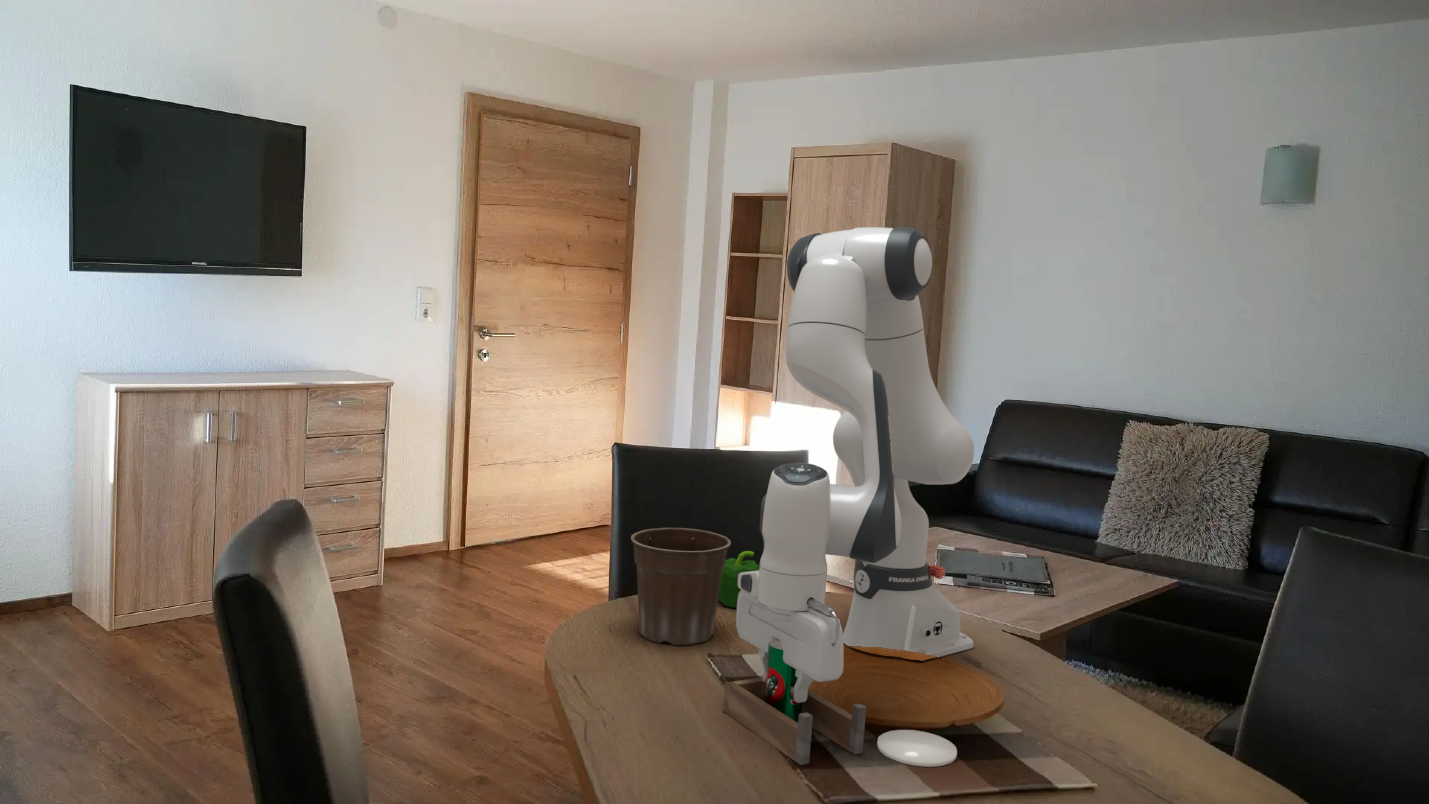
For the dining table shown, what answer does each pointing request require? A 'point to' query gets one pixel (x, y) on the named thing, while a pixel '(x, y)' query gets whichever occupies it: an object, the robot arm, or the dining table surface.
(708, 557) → the plant pot
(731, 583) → the bell pepper
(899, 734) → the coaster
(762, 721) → the dispenser
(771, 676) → the soda can
